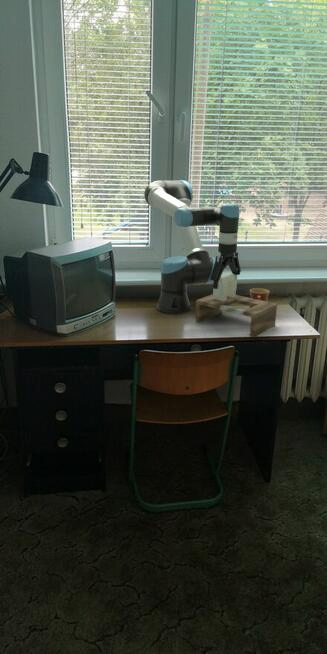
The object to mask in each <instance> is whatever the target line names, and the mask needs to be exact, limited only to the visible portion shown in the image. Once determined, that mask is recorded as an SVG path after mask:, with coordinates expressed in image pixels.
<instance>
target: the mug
mask: <svg viewBox="0 0 327 654" xmlns="http://www.w3.org/2000/svg"><path fill="white" fill-rule="evenodd" d="M270 293H271V292H270V290H268V289H267V288H266V289H265V288H260V287H256V288H251V289H249V295H250V298H253V299H257V300H262V301H266V302H268V299H269V298H268V297H269V296H270V295H269V294H270ZM249 308H252V306H249Z"/></svg>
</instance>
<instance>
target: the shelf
mask: <svg viewBox="0 0 327 654" xmlns="http://www.w3.org/2000/svg"><path fill="white" fill-rule="evenodd" d="M232 304H238V305H244V306H248V307H249V308H248V309H241V308H237V307H234V306H230V305H232ZM250 306H252V308H250ZM277 307H278V303H275V302H271V301H267V302H266V301H262V300H257V299H253V298H251V297H246V296H244V295H243V296H242V295H238V294H236V295H235V297H233V298H232V297H228V296H227V300H226V301H220V300H216V299H214V296H213V293H211V294H209V295H205V296H204V297H201V298H198V299H197V300H195V323H201V322H203V321H206V320H208V319H210V318H213V317H215V316H218V315H219V314H222V313H223V311H226V312H229V313H232V314H237V315H240V316H241V315H242V316H245V317H249V318H250V327H249V328H250V332H249V337H252V338H255V337H257V336H259V335H260V334H262V333H264V332H267V330H270V329H271V328H273V327H275V326H276V319H277V309H278V308H277Z"/></svg>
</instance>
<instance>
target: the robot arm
mask: <svg viewBox="0 0 327 654" xmlns="http://www.w3.org/2000/svg"><path fill="white" fill-rule="evenodd" d="M193 193H194V191H193V187H192V185H191V184H190V182H188V181H187V180H182V179H175V180H169V179H167V180H164V179H163V180H161V179H159V180H154V181H152V182H150V183H149V184H147V186H146V187H145V189H144V192H143V195H144V200H145V202H146V204H148V205H149V206H151V207H152V208H154V209H159V210H161V211H163V212H164V213H165V214H167V215H168V216H170V217H172V218H173V219H174V223H175V225H176V228H177V232H178V235H179V238H180V241H181V245H182V247H183V250H184V253H185V256H183V255H177V256H170V257H167V258H165V259H163V260H162V262H161V267H160V272H161V273H160V287H161V288H160V294H159V297H158V300H157V303H156V309H157V310H158V311H159V312H162V313H165V314H182V313H187V312H189V311H190V310H191V302H190V300H189V296H188V293H187V291H188V290H187V288H188V286H194V285H202V284H208V283H212V284H213V288H212V289H213V292H212V294H213V296H217V297H219V295H220V281H219V279H220V277H221V276H223V275H222V274H223V272H224V270H225V269H226V267H227V266H228V267H229V269H230V272H231V274H234V280H236V290H237V289H238V288H237V285H238V276H240V275H241V272H242V270H241V265H240V259H239V252H237V248H238V244H237V242H238V237H239V235H238V233H239V223H240V222H239V220H240V206H239V204H237V203H222V204H221V205H220V206H217V205H208V206H198V207H196V206H195V207H192V201H193V199H194V195H193ZM202 226H203V227H204V226H218V227H219V228H218V229H219V231H218V242H219V243H218V250H217V251H218V252H219V253H220V256H216V257H213V256H210V254H209V252H208V250H206V249H205V248H204V247H203V243H202V241H201V237H200V234H199V231H198V229H197V227H202Z"/></svg>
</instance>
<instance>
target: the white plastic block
mask: <svg viewBox="0 0 327 654" xmlns="http://www.w3.org/2000/svg"><path fill="white" fill-rule="evenodd" d="M219 281H220V295H219V297H217V296H214V299H216V300H220V301H226V300H227V296H228V297H232V298H233V297H235V295H237V293H236V291H237V289H236V280H234V274H232V273H227V274H224V275H221V277H220V279H219Z"/></svg>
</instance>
